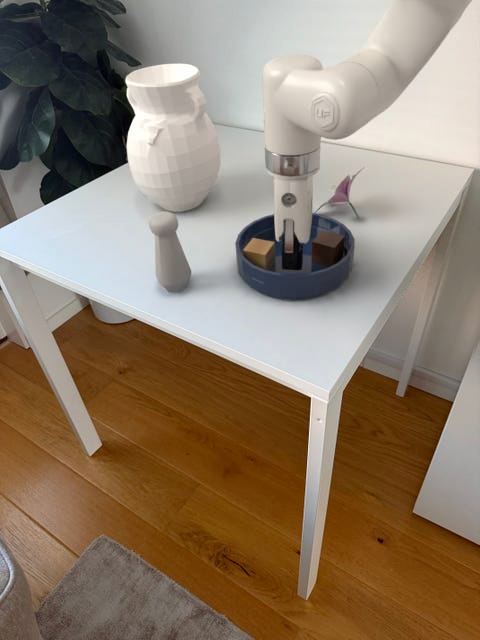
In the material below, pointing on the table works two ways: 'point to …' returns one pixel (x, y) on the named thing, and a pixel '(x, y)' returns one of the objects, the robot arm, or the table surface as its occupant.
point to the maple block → (260, 253)
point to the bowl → (312, 275)
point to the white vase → (171, 137)
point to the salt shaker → (169, 253)
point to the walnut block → (327, 248)
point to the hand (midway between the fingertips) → (292, 266)
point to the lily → (342, 192)
